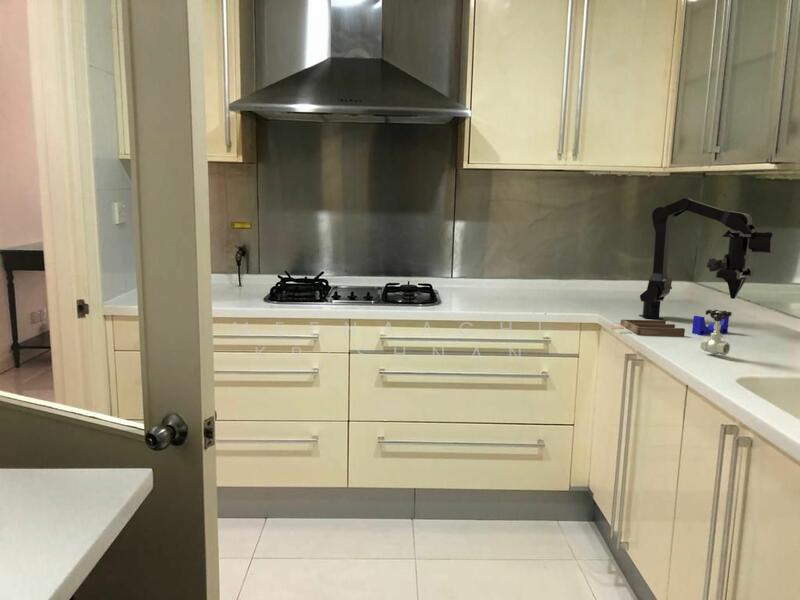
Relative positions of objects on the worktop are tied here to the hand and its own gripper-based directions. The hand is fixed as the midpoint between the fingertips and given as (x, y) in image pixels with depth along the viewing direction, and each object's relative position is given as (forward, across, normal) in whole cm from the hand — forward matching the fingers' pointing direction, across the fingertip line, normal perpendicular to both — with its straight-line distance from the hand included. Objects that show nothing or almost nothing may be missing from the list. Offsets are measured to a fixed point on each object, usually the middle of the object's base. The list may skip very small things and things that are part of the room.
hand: (732, 298), depth 216 cm
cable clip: (+11, +10, -4) cm, 15 cm away
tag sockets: (+11, +22, -17) cm, 30 cm away
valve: (+11, +41, +9) cm, 43 cm away
